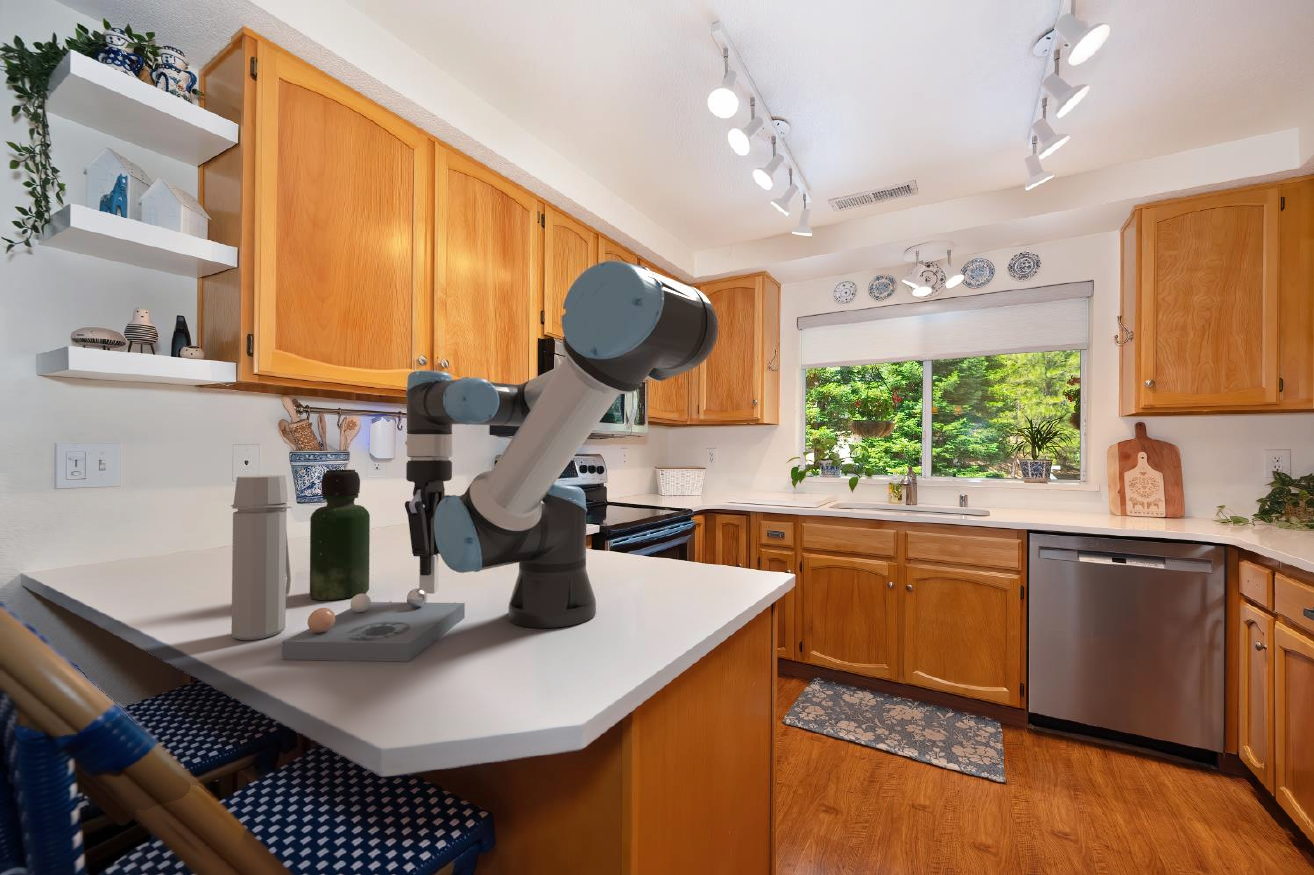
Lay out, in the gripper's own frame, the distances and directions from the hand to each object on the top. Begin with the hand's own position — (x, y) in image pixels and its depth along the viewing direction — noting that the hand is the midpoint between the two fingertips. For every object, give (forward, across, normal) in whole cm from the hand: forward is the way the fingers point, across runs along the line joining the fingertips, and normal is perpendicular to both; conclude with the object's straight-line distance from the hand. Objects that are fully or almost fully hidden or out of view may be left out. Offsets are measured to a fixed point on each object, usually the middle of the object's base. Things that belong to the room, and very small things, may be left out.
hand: (428, 592), depth 99 cm
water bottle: (+4, +11, -22) cm, 25 cm away
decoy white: (0, +8, -8) cm, 11 cm away
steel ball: (0, +4, 0) cm, 4 cm away
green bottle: (+4, -12, -24) cm, 27 cm away
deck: (+4, +12, -2) cm, 12 cm away
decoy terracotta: (0, +18, -8) cm, 19 cm away
